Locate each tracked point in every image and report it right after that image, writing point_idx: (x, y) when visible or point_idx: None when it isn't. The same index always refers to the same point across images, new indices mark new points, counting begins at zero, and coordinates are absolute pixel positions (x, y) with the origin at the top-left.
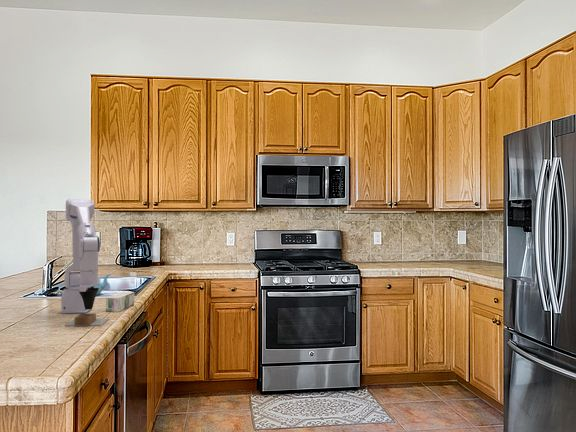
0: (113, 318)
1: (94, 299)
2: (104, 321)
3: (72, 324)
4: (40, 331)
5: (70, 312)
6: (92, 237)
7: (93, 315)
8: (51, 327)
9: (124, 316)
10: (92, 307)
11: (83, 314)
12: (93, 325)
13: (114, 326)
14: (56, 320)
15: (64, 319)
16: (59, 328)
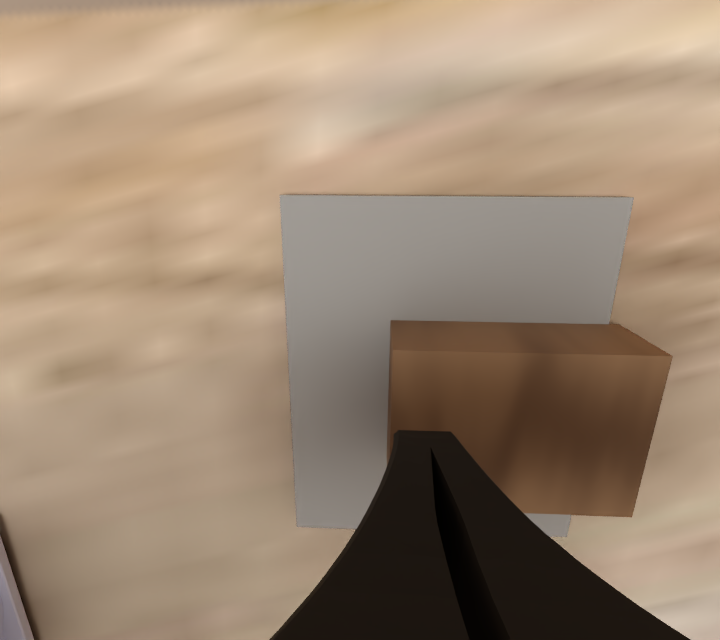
0: (216, 158)
1: (373, 510)
2: (458, 205)
3: None
4: (716, 633)
5: (24, 621)
6: None
7: (502, 350)
8: None
9: (83, 36)
10: (409, 436)
11: None
12: (609, 284)
13: (709, 4)
14: None
15: (273, 595)
16: (641, 542)
